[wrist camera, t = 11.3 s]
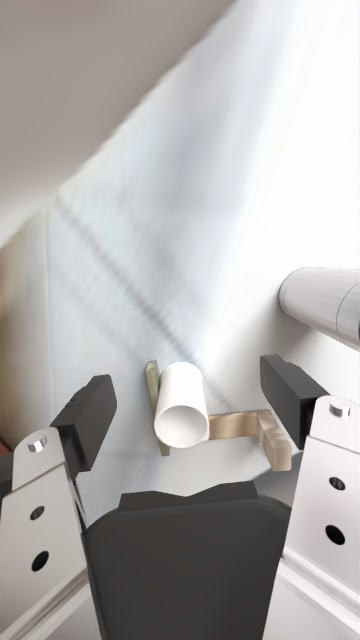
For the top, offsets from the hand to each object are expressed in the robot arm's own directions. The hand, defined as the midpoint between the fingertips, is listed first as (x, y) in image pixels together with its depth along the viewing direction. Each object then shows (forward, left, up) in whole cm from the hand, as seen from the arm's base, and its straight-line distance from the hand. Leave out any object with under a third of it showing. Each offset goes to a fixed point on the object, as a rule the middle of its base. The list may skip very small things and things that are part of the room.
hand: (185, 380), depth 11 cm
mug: (+2, +18, -27) cm, 33 cm away
